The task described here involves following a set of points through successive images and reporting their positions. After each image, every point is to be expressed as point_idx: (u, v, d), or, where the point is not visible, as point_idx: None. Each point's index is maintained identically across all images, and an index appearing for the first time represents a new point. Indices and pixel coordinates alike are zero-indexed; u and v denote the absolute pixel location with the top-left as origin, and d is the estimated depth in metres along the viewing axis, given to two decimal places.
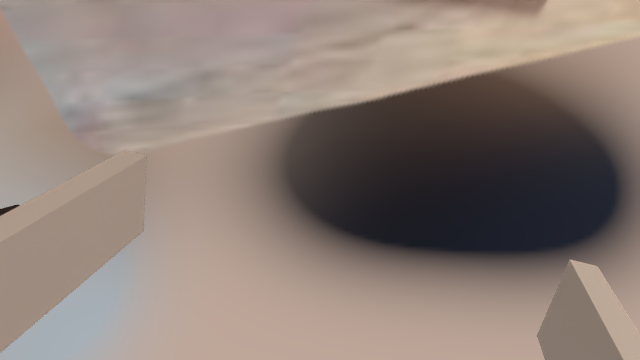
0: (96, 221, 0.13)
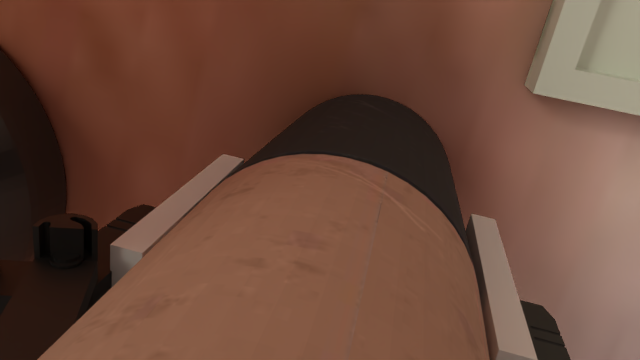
0: None
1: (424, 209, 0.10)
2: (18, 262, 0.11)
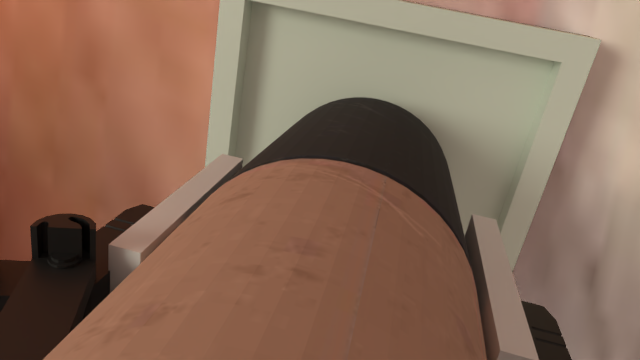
0: None
1: (422, 214, 0.10)
2: (16, 262, 0.11)
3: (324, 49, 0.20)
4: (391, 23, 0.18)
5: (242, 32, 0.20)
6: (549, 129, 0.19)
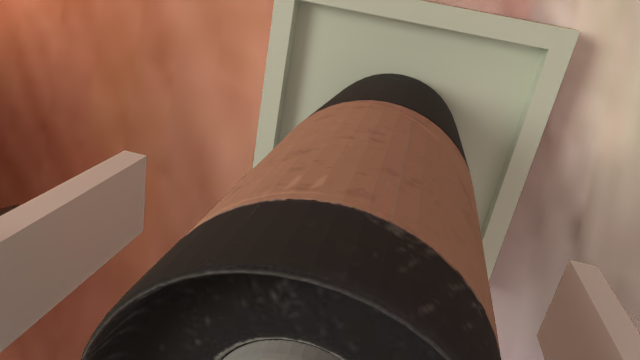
0: (96, 221, 0.13)
1: (438, 132, 0.16)
2: None
3: (357, 39, 0.25)
4: (412, 18, 0.23)
5: (291, 26, 0.25)
6: (539, 103, 0.23)
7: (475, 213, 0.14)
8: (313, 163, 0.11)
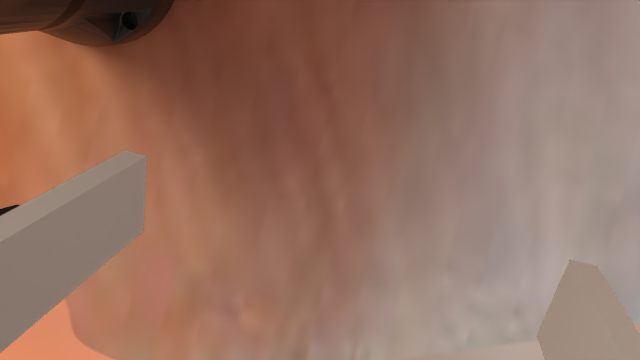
0: (96, 221, 0.13)
1: None
2: None
3: None
4: None
5: None
6: None
7: None
8: None
